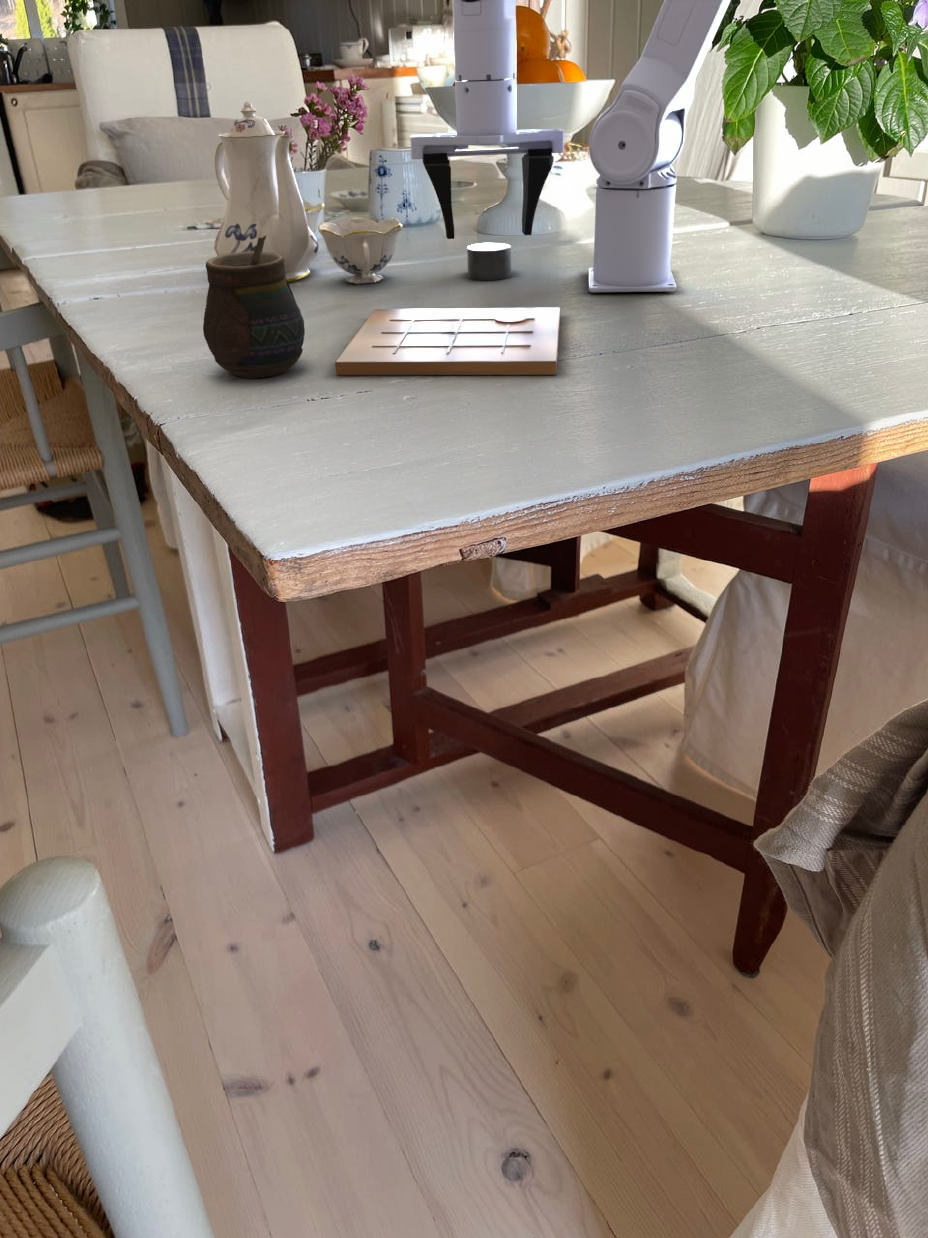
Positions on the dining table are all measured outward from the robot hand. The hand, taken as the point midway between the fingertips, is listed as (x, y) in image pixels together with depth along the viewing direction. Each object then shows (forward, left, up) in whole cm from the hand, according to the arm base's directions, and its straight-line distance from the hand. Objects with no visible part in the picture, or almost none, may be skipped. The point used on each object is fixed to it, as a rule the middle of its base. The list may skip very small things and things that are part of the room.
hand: (488, 235), depth 97 cm
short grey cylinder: (0, 0, -4) cm, 4 cm away
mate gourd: (+33, -14, -4) cm, 36 cm away
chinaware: (-3, -21, -4) cm, 22 cm away
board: (+26, 0, -4) cm, 26 cm away
